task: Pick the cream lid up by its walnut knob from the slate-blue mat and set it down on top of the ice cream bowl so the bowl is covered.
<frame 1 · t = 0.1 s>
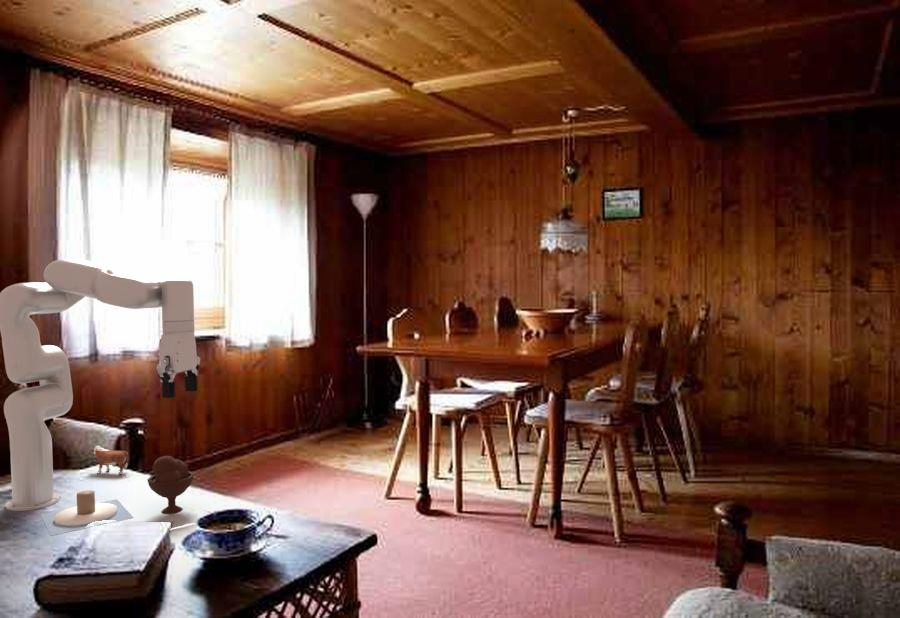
hand: (180, 394, 167), 31 cm above the table, tool pointing down, fingers open, 9 cm apart
ice cream bowl: (172, 513, 170), on the table
bull figurine: (109, 473, 206), on the table
mat: (86, 518, 166), on the table
lid: (86, 516, 166), resting on mat
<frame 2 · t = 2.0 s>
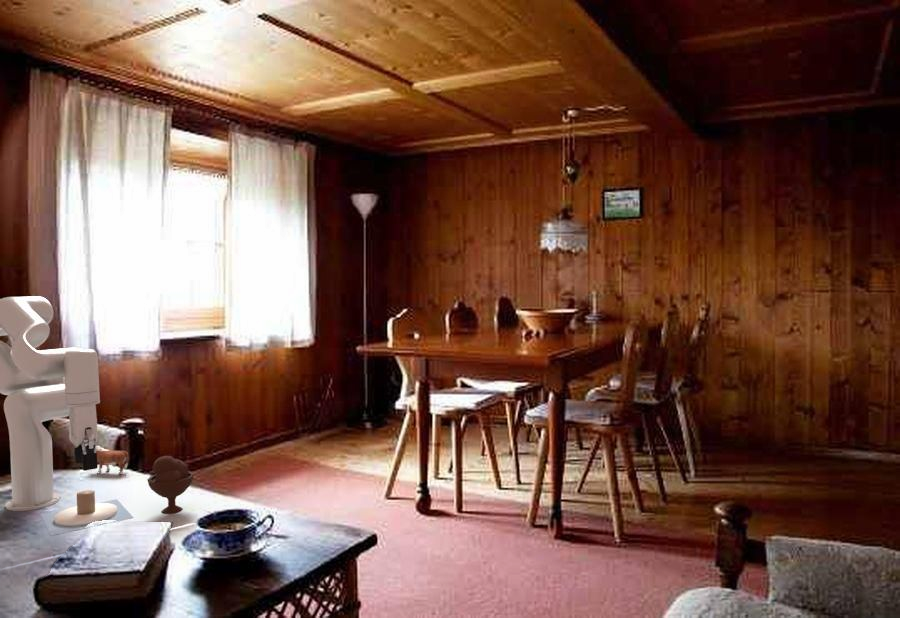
hand: (86, 465, 165), 14 cm above the table, tool pointing down, fingers open, 9 cm apart
nothing on the table moved.
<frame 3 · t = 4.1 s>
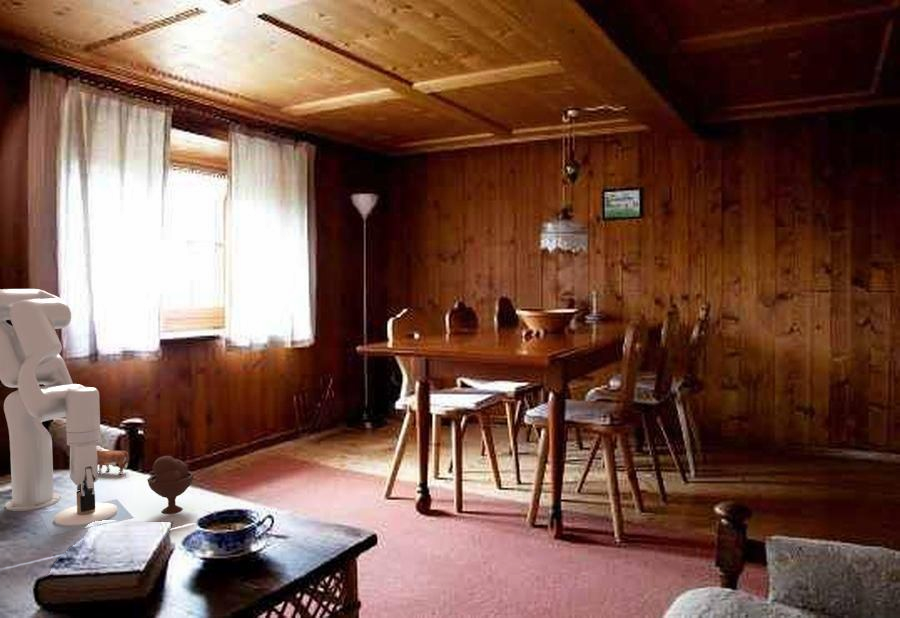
hand: (86, 507, 166), 3 cm above the table, tool pointing down, fingers closed on lid, 4 cm apart
lid: (86, 516, 166), resting on mat, touching gripper
everything else where it was.
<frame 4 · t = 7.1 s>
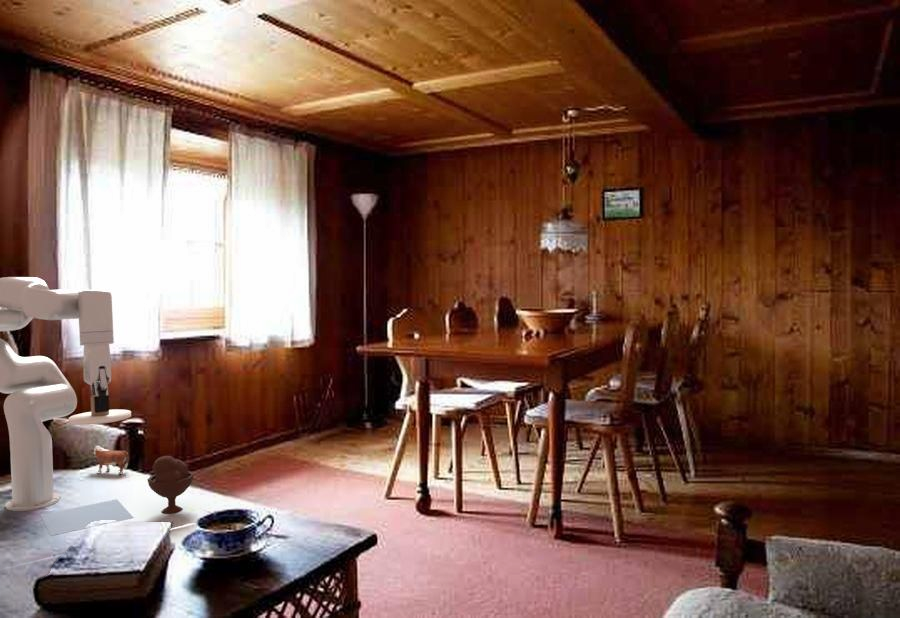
hand: (100, 409, 165), 28 cm above the table, tool pointing down, fingers closed on lid, 4 cm apart
lid: (100, 418, 165), point 25 cm above the table, touching gripper
everything else where it was.
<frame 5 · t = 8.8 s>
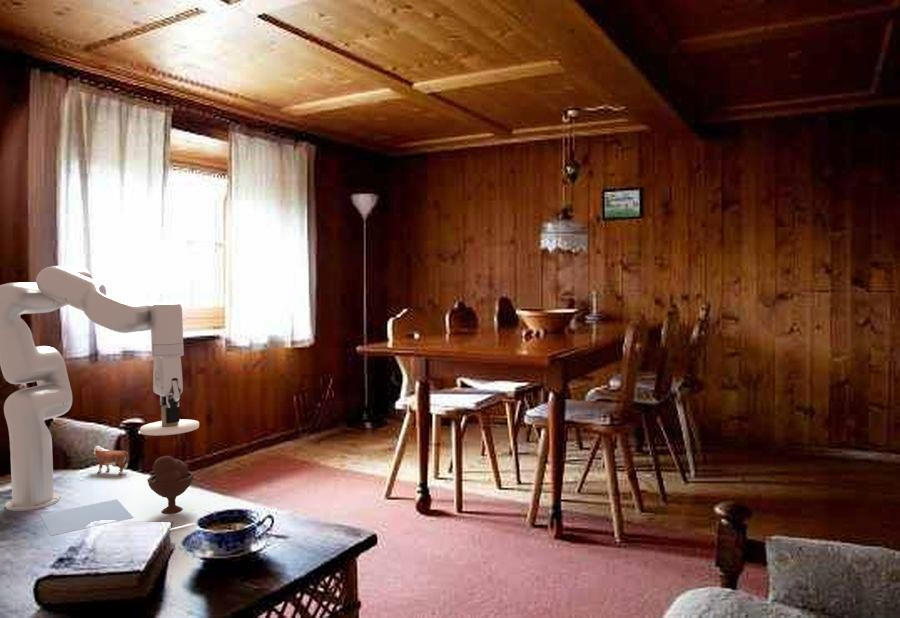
hand: (170, 420, 168), 24 cm above the table, tool pointing down, fingers closed on lid, 4 cm apart
lid: (170, 429, 169), point 22 cm above the table, touching gripper
everything else where it was.
when the fingers open (19 cm above the table, at t = 10.4 s): lid drops 1 cm, resting on ice cream bowl.
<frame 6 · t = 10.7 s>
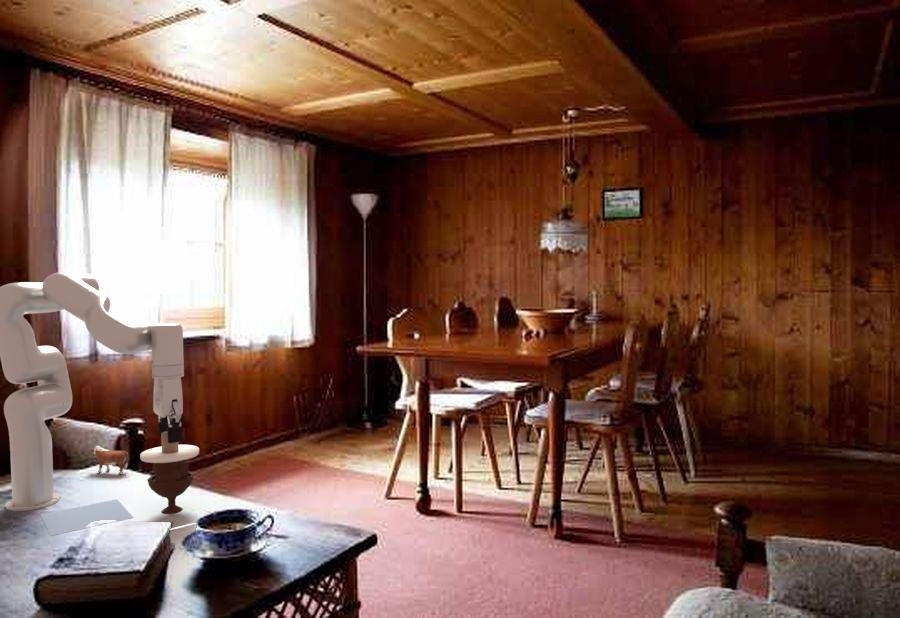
hand: (170, 438, 169), 19 cm above the table, tool pointing down, fingers open, 7 cm apart
ice cream bowl: (172, 513, 170), on the table, touching lid
lid: (170, 455, 169), point 15 cm above the table, touching ice cream bowl
everything else where it was.
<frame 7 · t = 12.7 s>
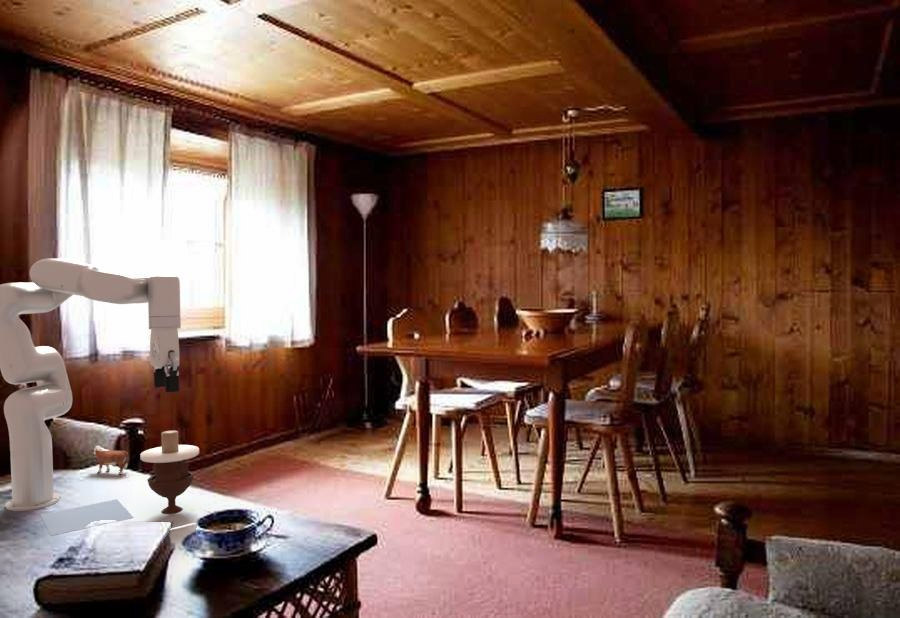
hand: (166, 389, 168), 32 cm above the table, tool pointing down, fingers open, 9 cm apart
nothing on the table moved.
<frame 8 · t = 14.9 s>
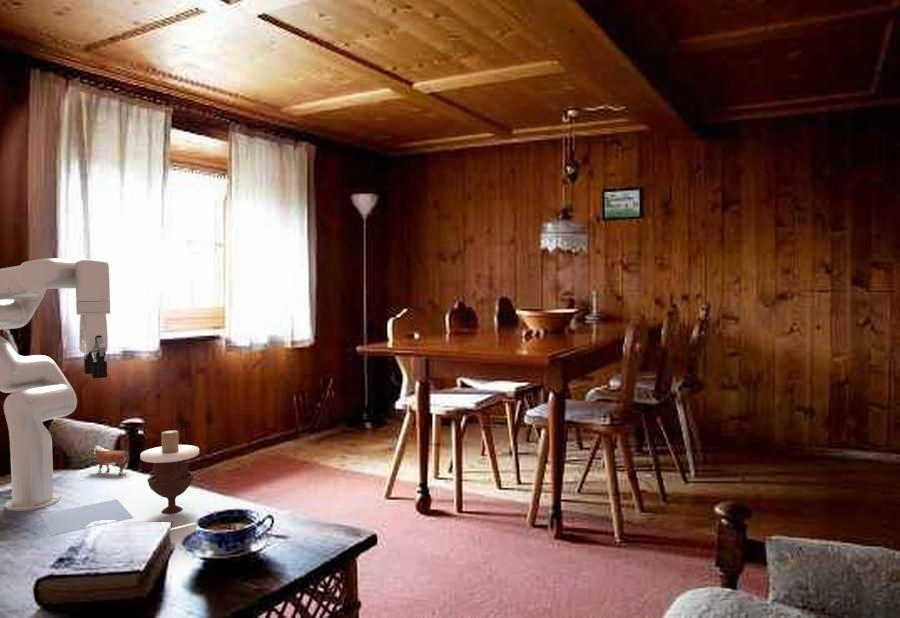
hand: (95, 375, 165), 36 cm above the table, tool pointing down, fingers open, 9 cm apart
nothing on the table moved.
at the end: lid 0.0 cm from the ice cream bowl (horizontally); lid point 15.0 cm above the table; lid touching ice cream bowl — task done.
